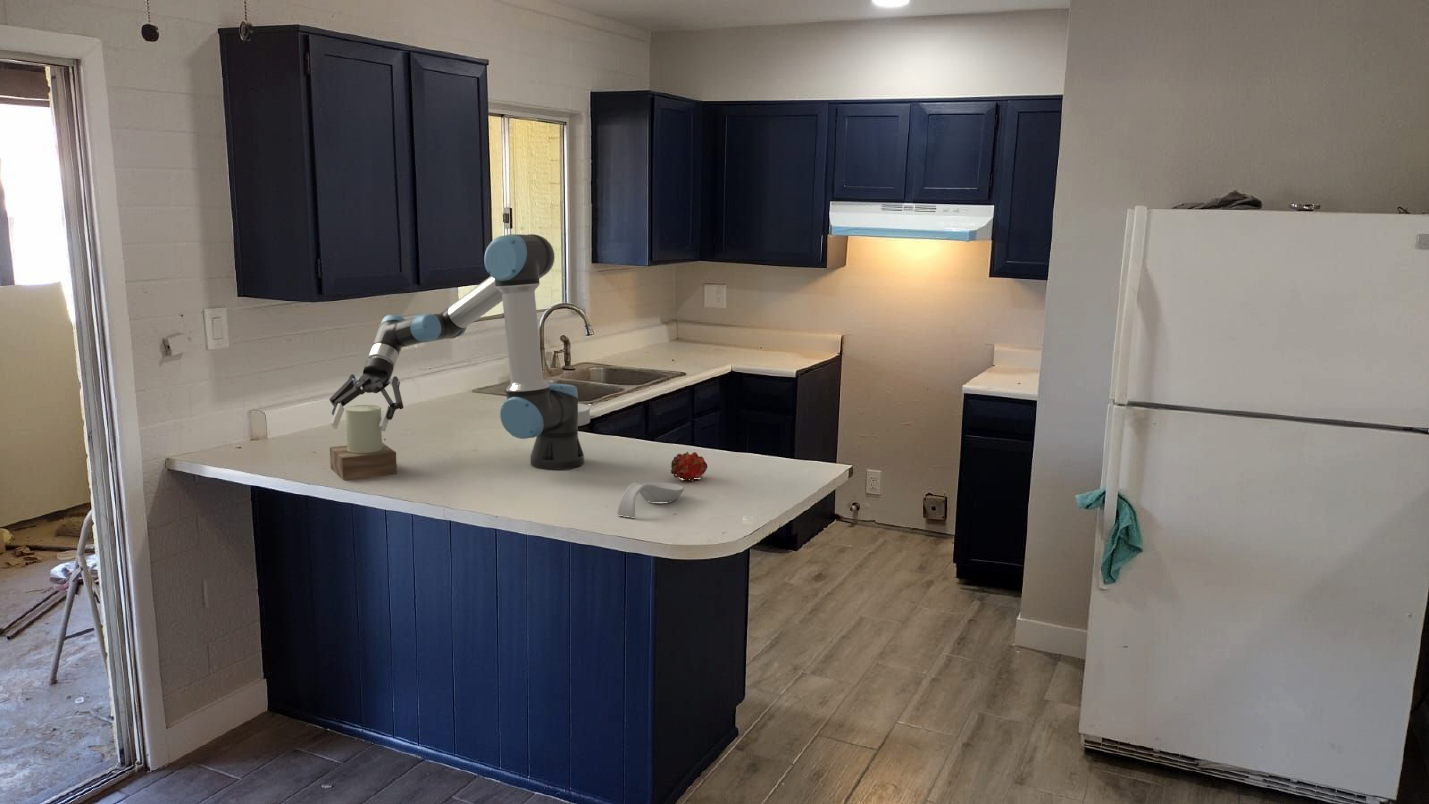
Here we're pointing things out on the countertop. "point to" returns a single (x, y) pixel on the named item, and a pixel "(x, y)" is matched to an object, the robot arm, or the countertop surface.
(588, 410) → the dish
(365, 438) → the can
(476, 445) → the countertop surface
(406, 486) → the countertop surface
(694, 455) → the red bumpy oval piece
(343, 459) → the walnut block
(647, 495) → the spoon rest
